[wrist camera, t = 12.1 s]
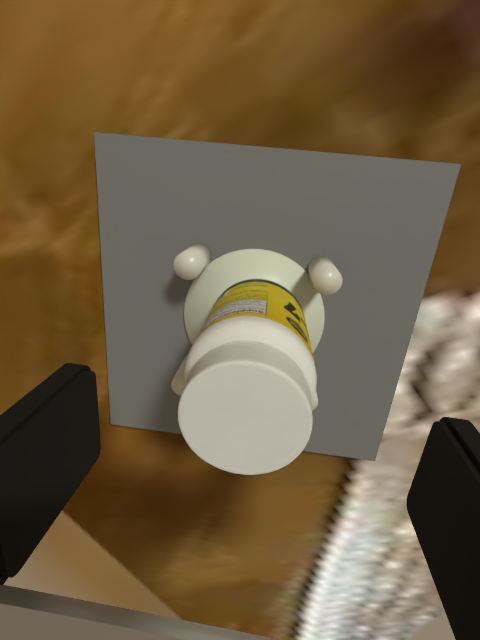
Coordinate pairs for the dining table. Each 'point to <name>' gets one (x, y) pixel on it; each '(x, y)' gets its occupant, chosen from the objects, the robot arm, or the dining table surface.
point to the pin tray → (265, 267)
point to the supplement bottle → (250, 381)
